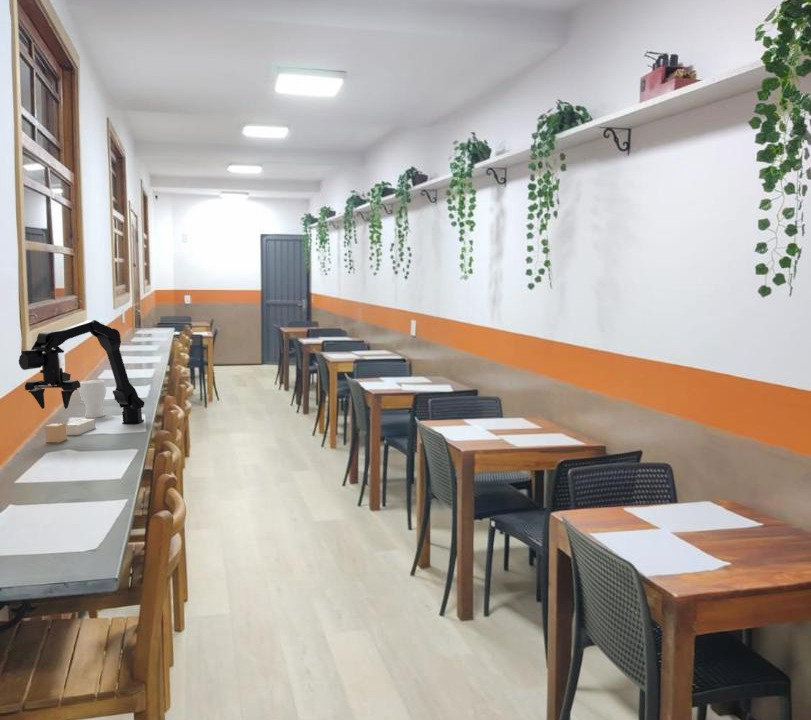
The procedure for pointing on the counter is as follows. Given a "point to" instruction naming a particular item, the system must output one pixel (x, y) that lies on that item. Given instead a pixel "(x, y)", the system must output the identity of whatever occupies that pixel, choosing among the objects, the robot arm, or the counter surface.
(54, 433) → the light brown cardboard box
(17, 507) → the counter surface
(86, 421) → the white slotted tower
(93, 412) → the cup
